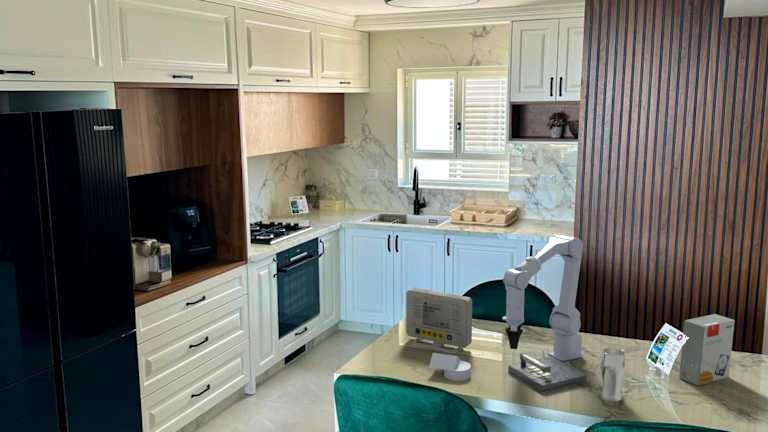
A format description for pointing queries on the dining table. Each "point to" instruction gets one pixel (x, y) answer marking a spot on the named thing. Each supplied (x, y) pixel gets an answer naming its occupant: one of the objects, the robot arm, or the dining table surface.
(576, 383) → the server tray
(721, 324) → the hard drive box
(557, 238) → the robot arm
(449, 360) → the wedge on round base
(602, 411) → the dining table surface
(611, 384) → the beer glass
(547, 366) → the grey ball-ended handle
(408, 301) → the network device
